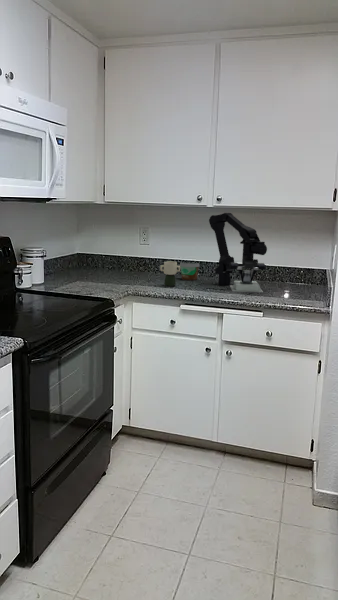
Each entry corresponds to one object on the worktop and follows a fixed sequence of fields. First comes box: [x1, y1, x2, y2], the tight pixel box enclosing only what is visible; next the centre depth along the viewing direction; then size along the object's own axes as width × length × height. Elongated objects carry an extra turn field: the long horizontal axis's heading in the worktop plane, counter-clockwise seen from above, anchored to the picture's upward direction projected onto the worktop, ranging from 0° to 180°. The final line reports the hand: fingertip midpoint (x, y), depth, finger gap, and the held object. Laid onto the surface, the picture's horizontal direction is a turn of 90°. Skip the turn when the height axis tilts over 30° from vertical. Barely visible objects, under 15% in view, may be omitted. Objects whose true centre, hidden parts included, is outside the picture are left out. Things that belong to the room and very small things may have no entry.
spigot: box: [242, 269, 252, 284], centre depth 262 cm, size 4×4×8 cm
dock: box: [229, 280, 264, 294], centre depth 263 cm, size 16×16×4 cm
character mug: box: [159, 260, 181, 287], centre depth 268 cm, size 11×7×13 cm, turn 86°
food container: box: [179, 261, 200, 281], centre depth 287 cm, size 12×6×10 cm, turn 65°
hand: (246, 282), depth 263 cm, fingers closed on spigot, 4 cm apart
